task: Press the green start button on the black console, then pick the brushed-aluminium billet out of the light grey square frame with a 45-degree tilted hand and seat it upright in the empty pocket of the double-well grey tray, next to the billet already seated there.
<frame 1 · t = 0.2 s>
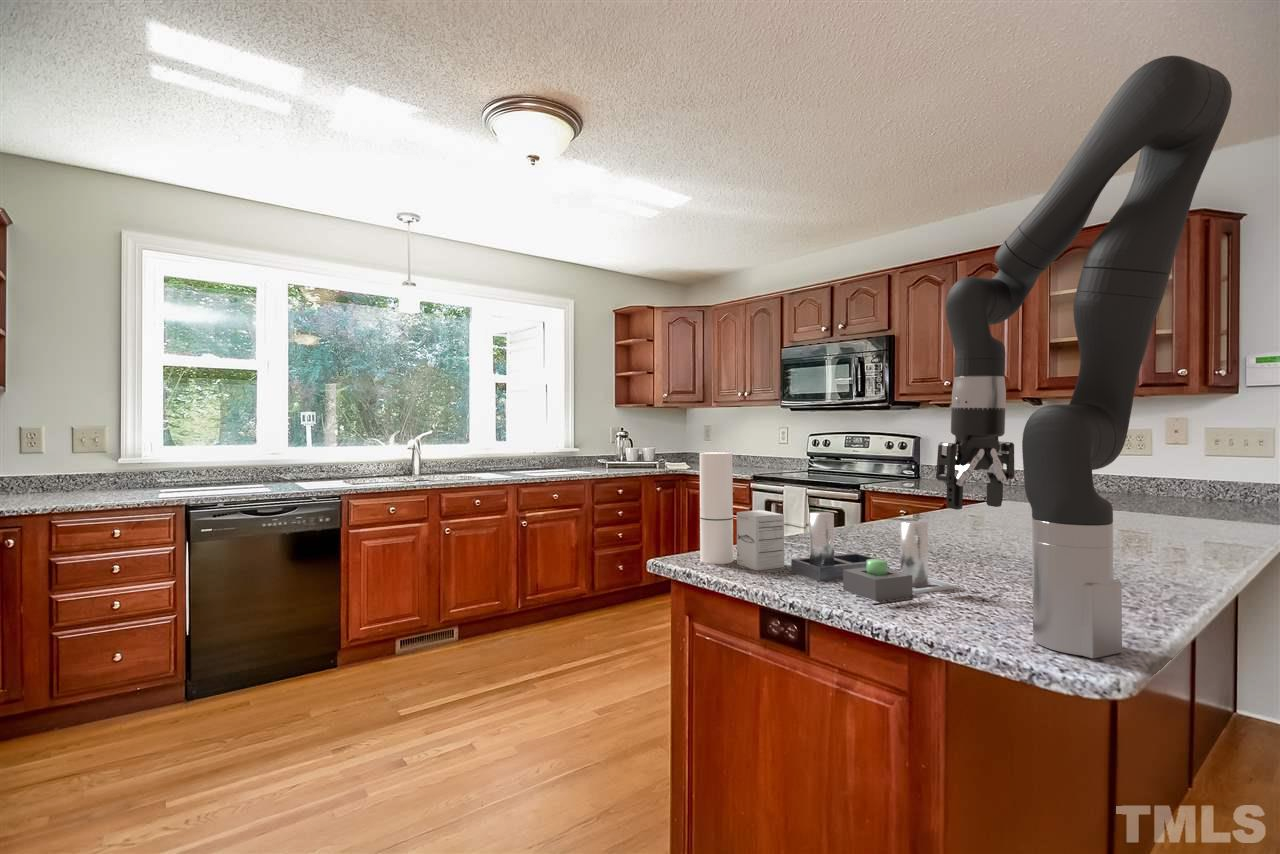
hand: (974, 507, 100), 17 cm above the table, tool pointing down, fingers open, 8 cm apart
double-well grey tray: (838, 580, 125), on the table
supplement box: (760, 573, 132), on the table
cylindrical container: (716, 568, 137), on the table
console: (877, 601, 109), on the table
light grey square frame: (914, 592, 115), on the table
start button: (877, 569, 109), point 5 cm above the table, slide at 0.0 cm
billet: (914, 588, 115), point 1 cm above the table, touching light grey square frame
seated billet: (822, 574, 123), resting on double-well grey tray
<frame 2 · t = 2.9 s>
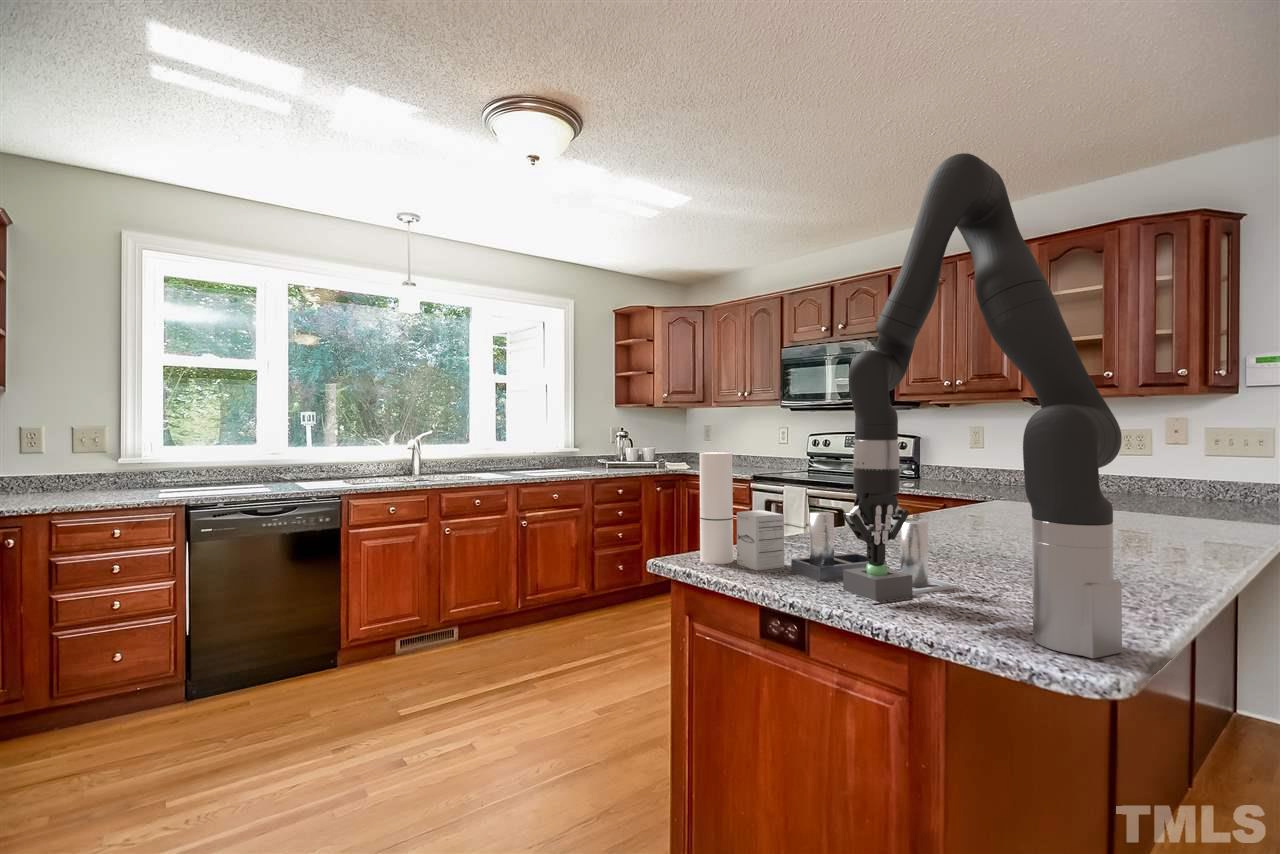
hand: (876, 564, 109), 6 cm above the table, tool pointing down, fingers closed
start button: (877, 573, 109), point 5 cm above the table, slide at 0.7 cm, touching gripper
everything else where it was.
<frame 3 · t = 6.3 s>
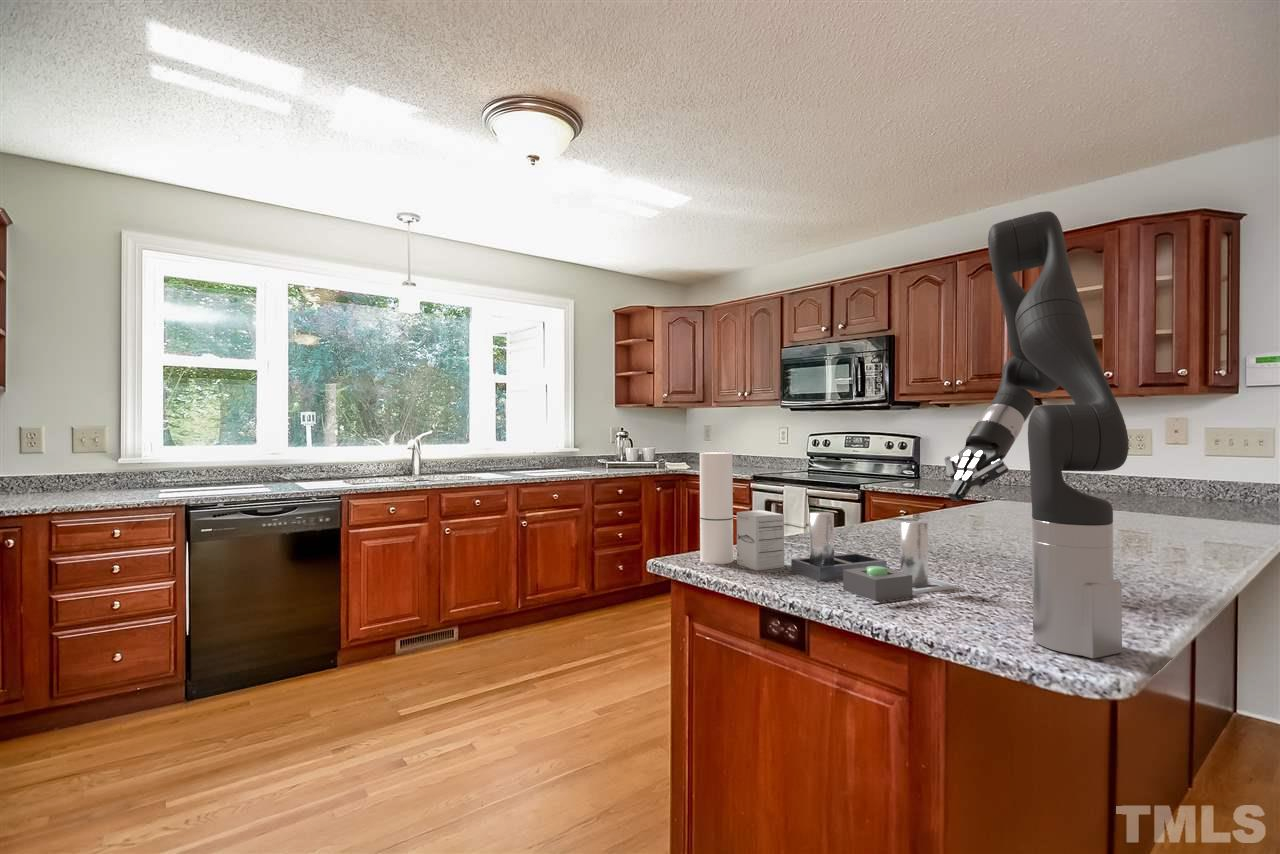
hand: (953, 498, 119), 17 cm above the table, tool tilted 45°, fingers closed
start button: (877, 576, 109), point 4 cm above the table, slide at 1.2 cm
everything else where it was.
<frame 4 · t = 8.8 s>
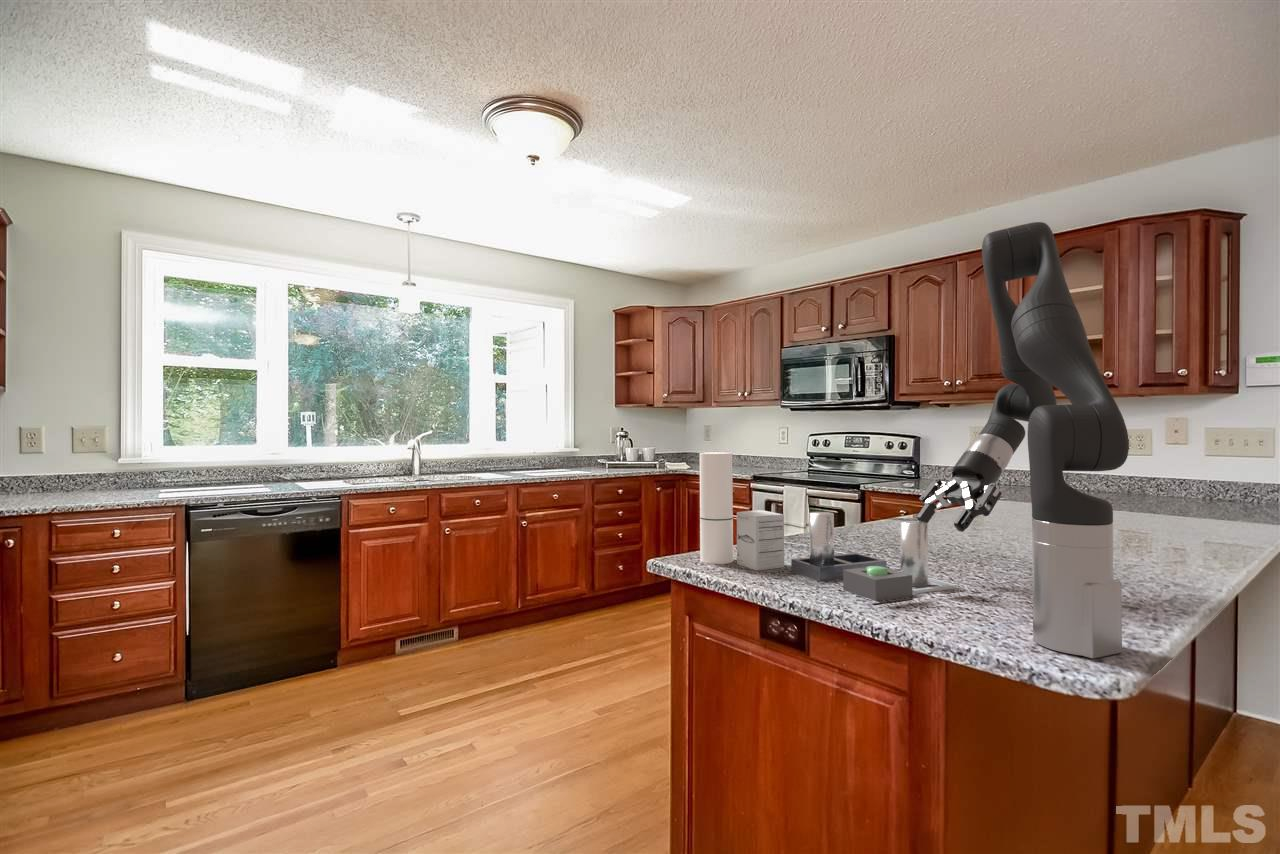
hand: (938, 525, 117), 12 cm above the table, tool tilted 45°, fingers open, 8 cm apart
nothing on the table moved.
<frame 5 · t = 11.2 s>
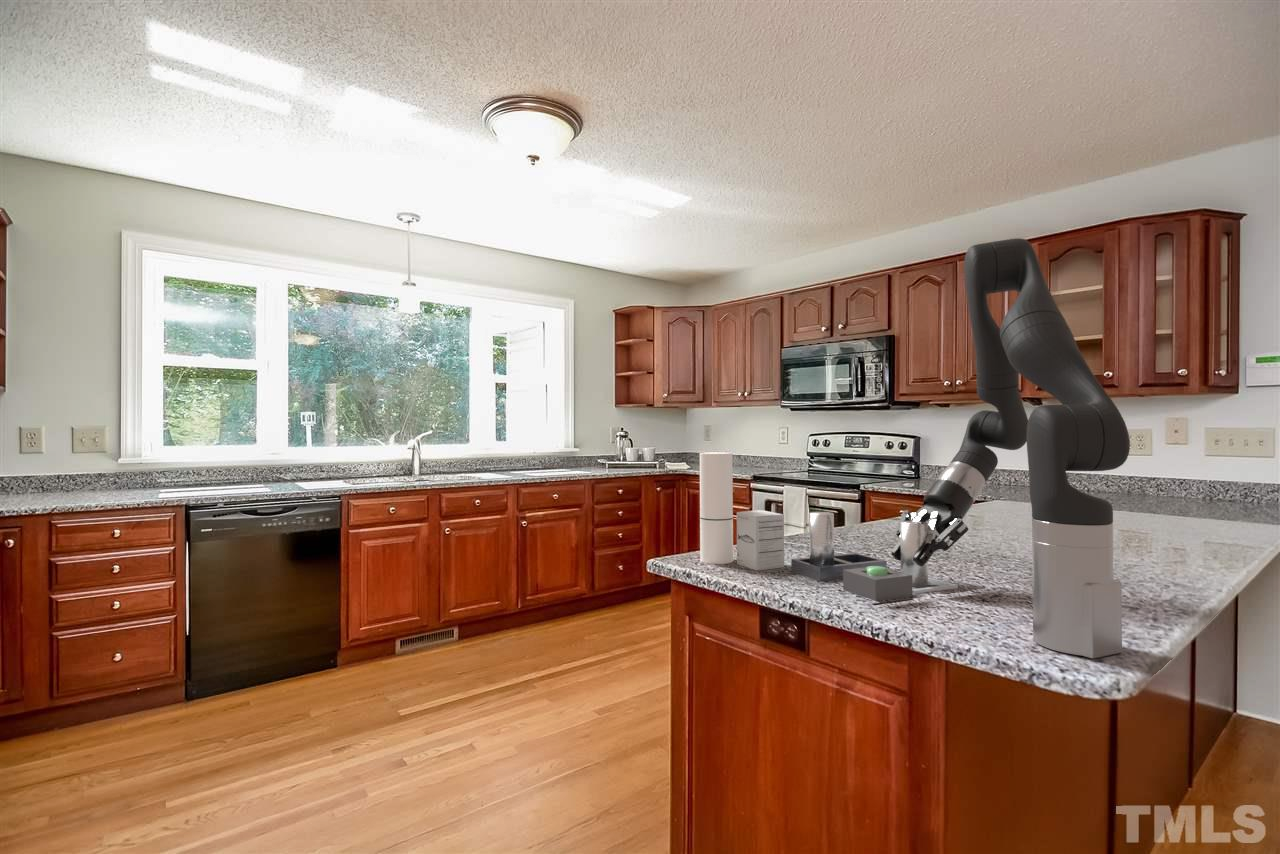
hand: (906, 559, 114), 6 cm above the table, tool tilted 45°, fingers closed on billet, 4 cm apart
billet: (914, 587, 115), point 1 cm above the table, touching gripper, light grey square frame
everything else where it was.
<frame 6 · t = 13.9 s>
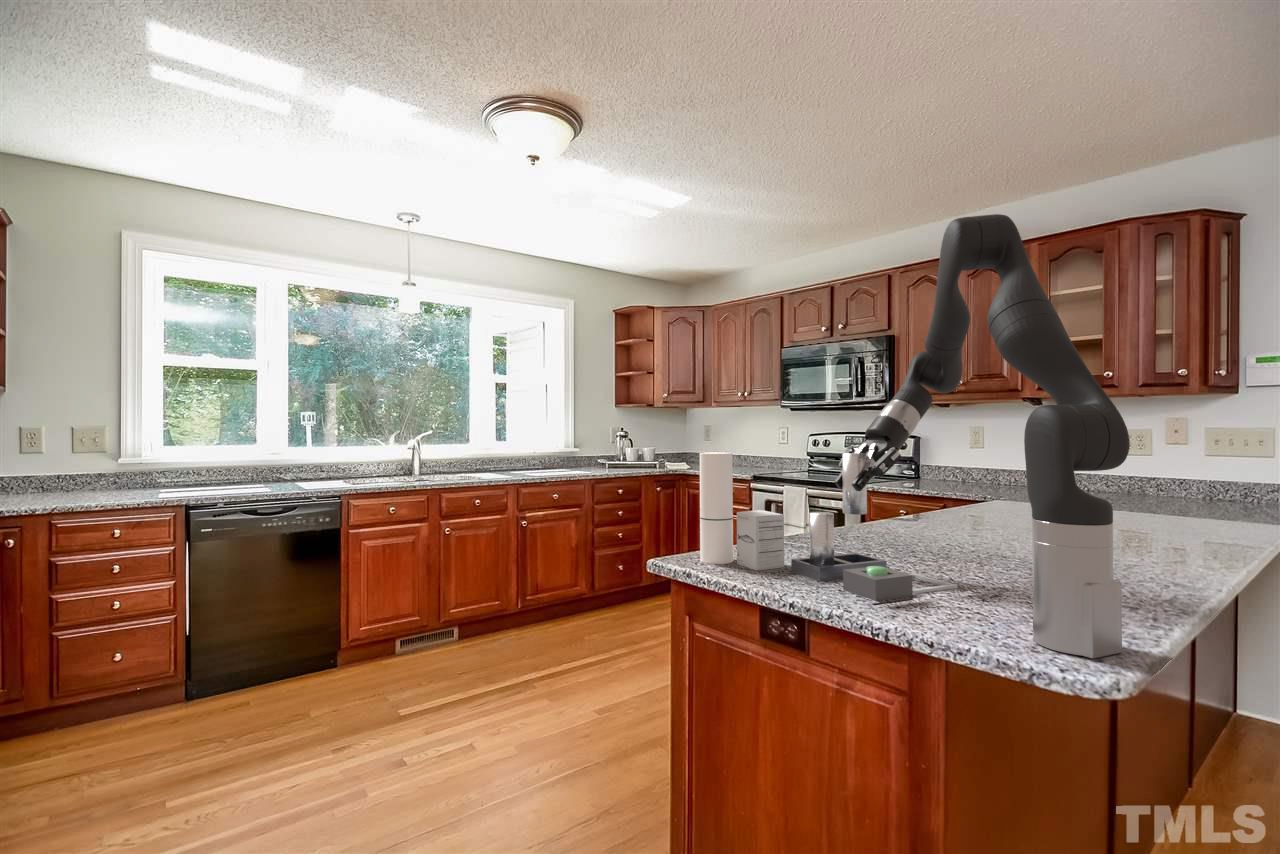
hand: (846, 487, 125), 18 cm above the table, tool tilted 45°, fingers closed on billet, 4 cm apart
billet: (854, 512, 126), point 13 cm above the table, touching gripper
everything else where it was.
when the fingers open (8 cm above the table, at t = 16.5 s): billet drops 2 cm, resting on double-well grey tray.
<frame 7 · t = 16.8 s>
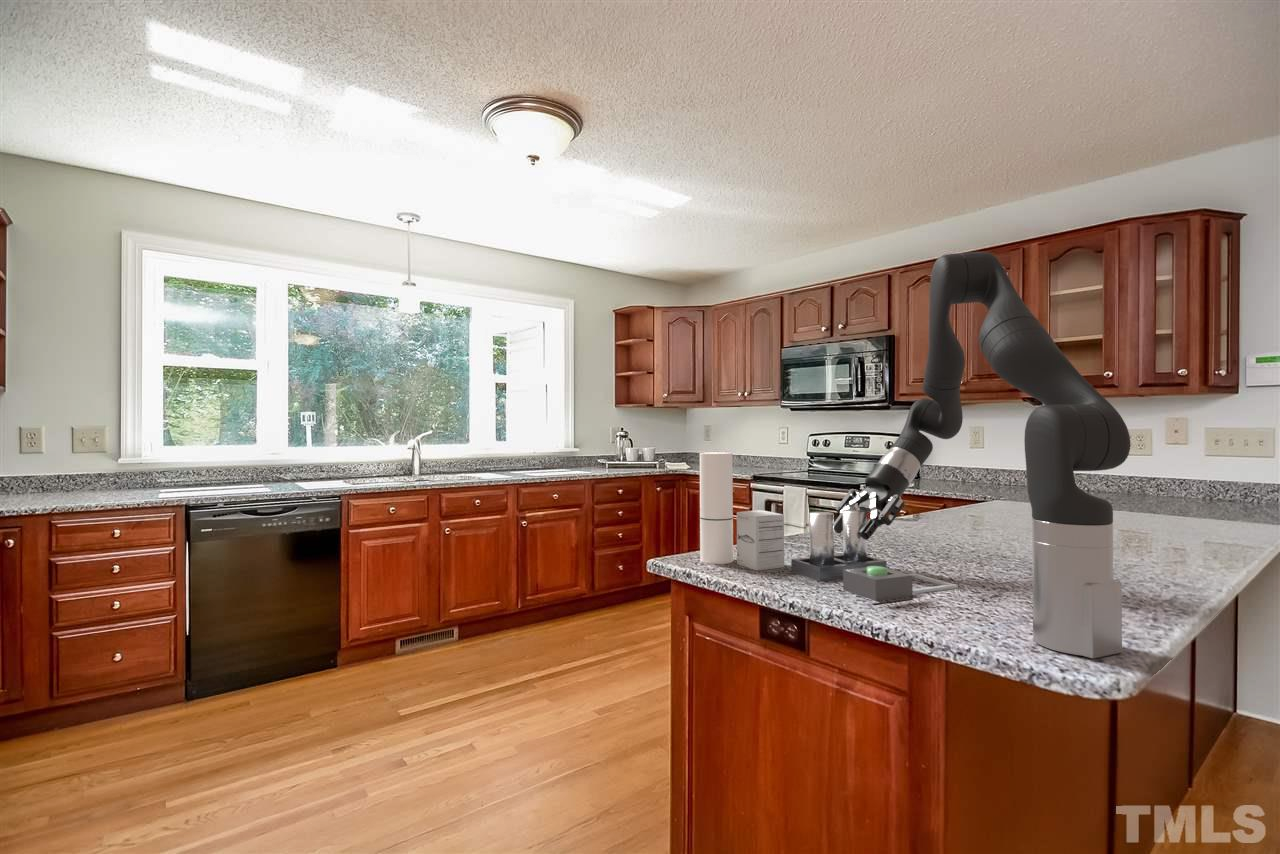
hand: (848, 533, 126), 9 cm above the table, tool tilted 45°, fingers open, 7 cm apart
billet: (855, 570, 126), point 2 cm above the table, touching double-well grey tray
everything else where it was.
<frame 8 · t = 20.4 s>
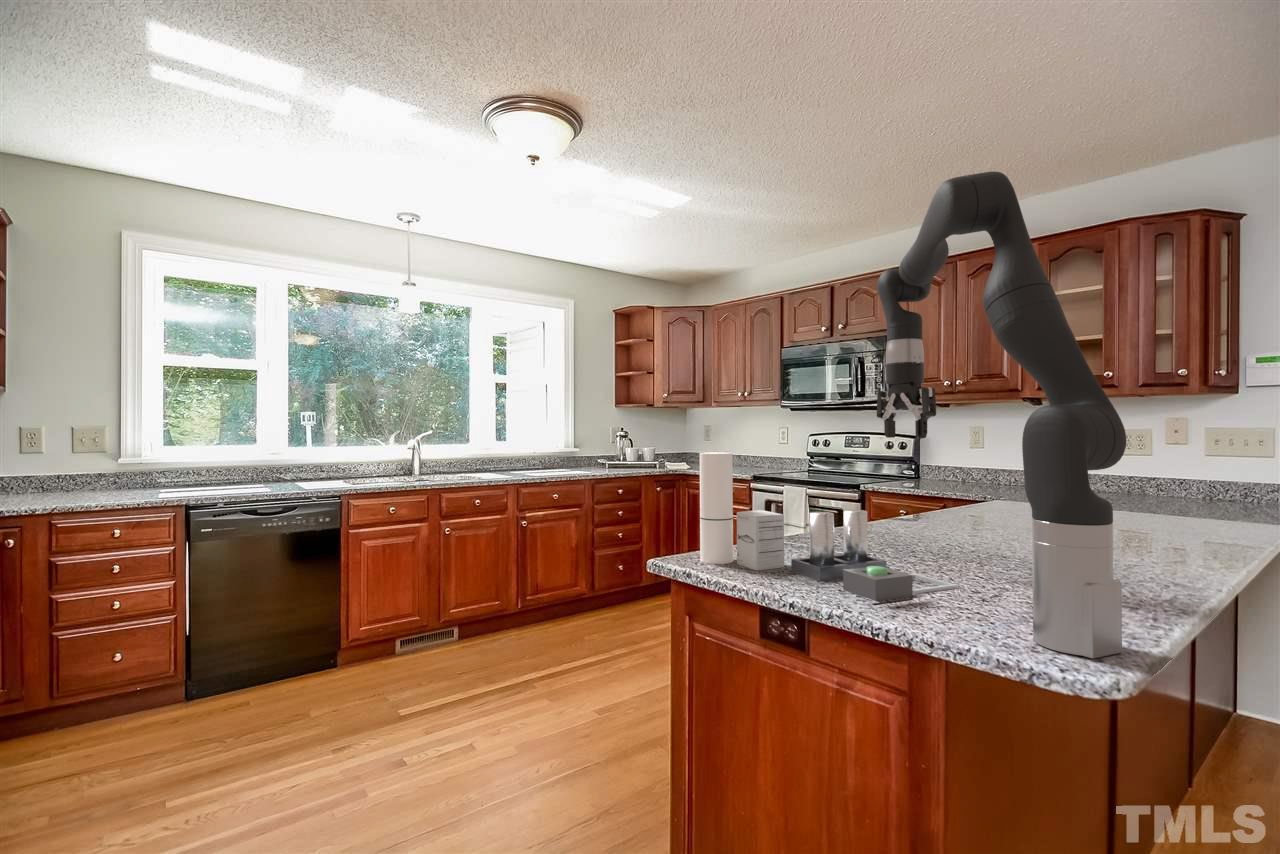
hand: (905, 437, 134), 28 cm above the table, tool pointing down, fingers open, 8 cm apart
nothing on the table moved.
at the end: billet 0.2 cm from the target spot on the double-well grey tray, point 1.5 cm above the double-well grey tray's base; billet tilted 0°; the gripper is holding nothing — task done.
